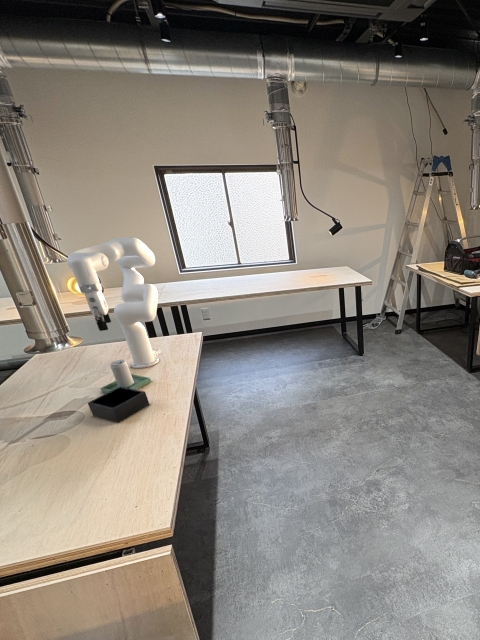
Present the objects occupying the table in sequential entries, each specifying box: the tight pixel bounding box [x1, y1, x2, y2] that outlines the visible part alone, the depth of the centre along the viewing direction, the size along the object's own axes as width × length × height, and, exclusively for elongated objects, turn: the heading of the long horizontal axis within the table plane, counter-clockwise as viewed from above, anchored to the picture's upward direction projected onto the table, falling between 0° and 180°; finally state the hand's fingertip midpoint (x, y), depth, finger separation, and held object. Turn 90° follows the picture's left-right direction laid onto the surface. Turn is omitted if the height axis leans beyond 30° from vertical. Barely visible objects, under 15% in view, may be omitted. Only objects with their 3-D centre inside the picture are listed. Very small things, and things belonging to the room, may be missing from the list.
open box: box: [87, 386, 151, 424], centre depth 168 cm, size 15×15×6 cm
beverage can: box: [110, 359, 134, 388], centre depth 185 cm, size 6×6×12 cm
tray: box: [99, 373, 152, 394], centre depth 188 cm, size 15×13×2 cm
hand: (105, 326), depth 178 cm, fingers open, 9 cm apart
